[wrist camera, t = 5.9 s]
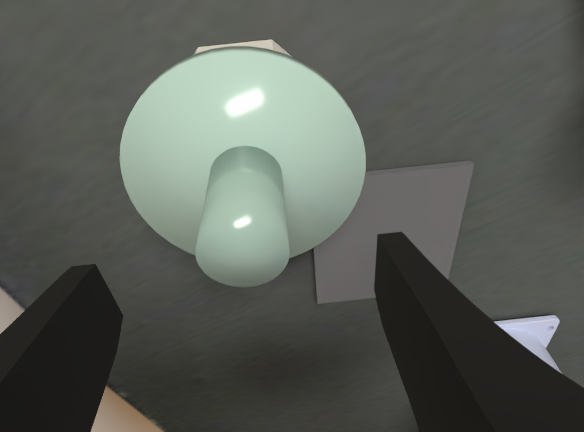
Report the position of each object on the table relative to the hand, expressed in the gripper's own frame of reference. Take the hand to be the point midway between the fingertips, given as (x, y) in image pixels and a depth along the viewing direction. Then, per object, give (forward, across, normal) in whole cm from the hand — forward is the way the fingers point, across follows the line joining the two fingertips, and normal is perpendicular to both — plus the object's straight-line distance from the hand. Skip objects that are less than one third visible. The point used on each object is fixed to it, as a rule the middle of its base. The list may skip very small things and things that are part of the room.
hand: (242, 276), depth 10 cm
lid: (+6, 0, 0) cm, 6 cm away
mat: (+9, -6, +7) cm, 13 cm away
